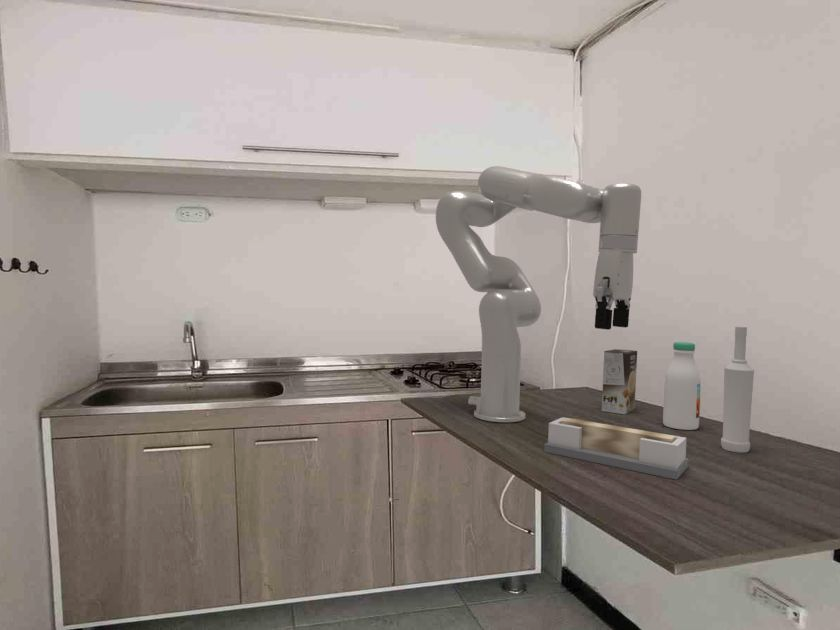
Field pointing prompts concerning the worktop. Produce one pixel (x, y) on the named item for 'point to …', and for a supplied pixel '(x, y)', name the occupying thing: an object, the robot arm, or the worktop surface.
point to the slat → (614, 437)
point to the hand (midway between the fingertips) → (611, 327)
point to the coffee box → (619, 381)
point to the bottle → (737, 398)
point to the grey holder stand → (651, 459)
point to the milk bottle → (682, 389)
